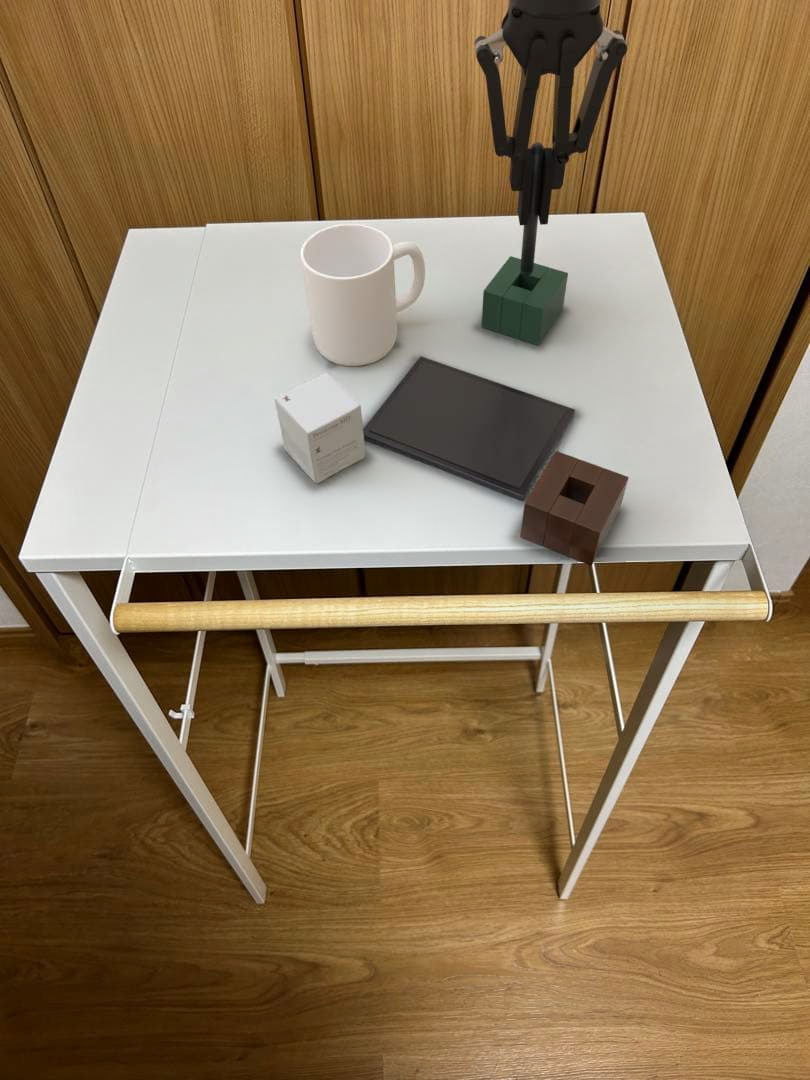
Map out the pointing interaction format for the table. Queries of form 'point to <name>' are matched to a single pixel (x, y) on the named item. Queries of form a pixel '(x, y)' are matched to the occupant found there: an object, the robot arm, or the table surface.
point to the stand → (523, 301)
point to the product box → (321, 427)
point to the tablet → (469, 426)
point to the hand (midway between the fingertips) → (532, 216)
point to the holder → (573, 507)
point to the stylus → (532, 211)
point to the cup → (356, 291)
